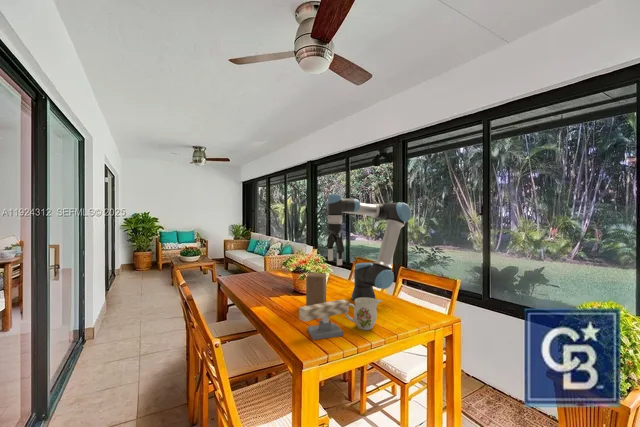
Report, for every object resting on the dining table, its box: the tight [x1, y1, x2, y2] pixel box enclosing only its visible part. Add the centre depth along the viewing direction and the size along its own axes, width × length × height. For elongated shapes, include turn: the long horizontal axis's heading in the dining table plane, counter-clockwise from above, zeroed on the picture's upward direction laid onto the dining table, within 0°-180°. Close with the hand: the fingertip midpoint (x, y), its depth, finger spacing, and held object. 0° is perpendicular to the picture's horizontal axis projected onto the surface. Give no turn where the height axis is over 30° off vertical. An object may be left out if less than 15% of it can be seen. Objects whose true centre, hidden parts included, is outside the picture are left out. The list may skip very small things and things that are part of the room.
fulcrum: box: [307, 316, 344, 341], centre depth 136 cm, size 14×10×8 cm
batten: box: [298, 298, 350, 323], centre depth 136 cm, size 24×4×5 cm, turn 120°
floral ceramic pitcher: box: [344, 297, 383, 331], centre depth 143 cm, size 11×18×14 cm, turn 76°
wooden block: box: [305, 272, 327, 306], centre depth 169 cm, size 10×10×20 cm
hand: (334, 262), depth 157 cm, fingers open, 13 cm apart
